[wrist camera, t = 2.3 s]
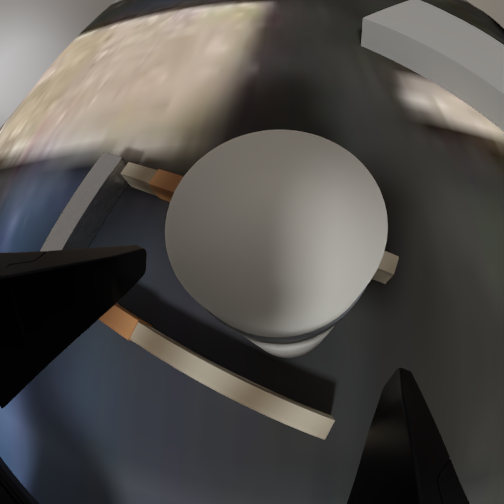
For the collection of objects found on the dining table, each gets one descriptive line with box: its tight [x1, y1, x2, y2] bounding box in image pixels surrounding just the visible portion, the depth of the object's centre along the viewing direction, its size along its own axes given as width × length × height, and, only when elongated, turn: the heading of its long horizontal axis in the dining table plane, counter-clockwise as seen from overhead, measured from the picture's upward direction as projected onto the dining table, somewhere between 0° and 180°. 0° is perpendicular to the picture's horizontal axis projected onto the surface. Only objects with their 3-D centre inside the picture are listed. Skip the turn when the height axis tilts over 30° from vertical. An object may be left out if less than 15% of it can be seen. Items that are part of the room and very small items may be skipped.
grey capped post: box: [165, 130, 388, 358], centre depth 12 cm, size 5×5×13 cm
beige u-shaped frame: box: [40, 152, 399, 440], centre depth 19 cm, size 24×11×2 cm, turn 64°
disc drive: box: [361, 0, 504, 132], centre depth 24 cm, size 18×22×5 cm
